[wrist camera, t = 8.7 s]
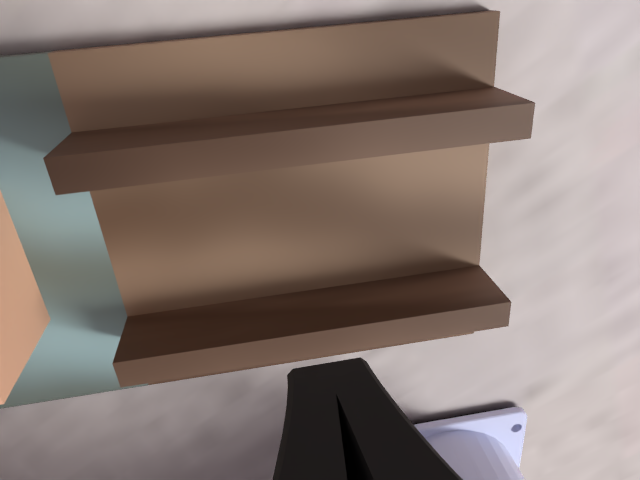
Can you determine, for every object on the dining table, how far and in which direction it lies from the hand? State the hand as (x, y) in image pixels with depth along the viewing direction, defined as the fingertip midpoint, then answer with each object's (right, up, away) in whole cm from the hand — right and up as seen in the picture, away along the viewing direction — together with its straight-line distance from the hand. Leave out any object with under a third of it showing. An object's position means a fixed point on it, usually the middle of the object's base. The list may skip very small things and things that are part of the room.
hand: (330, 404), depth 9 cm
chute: (-6, +3, +8) cm, 10 cm away
